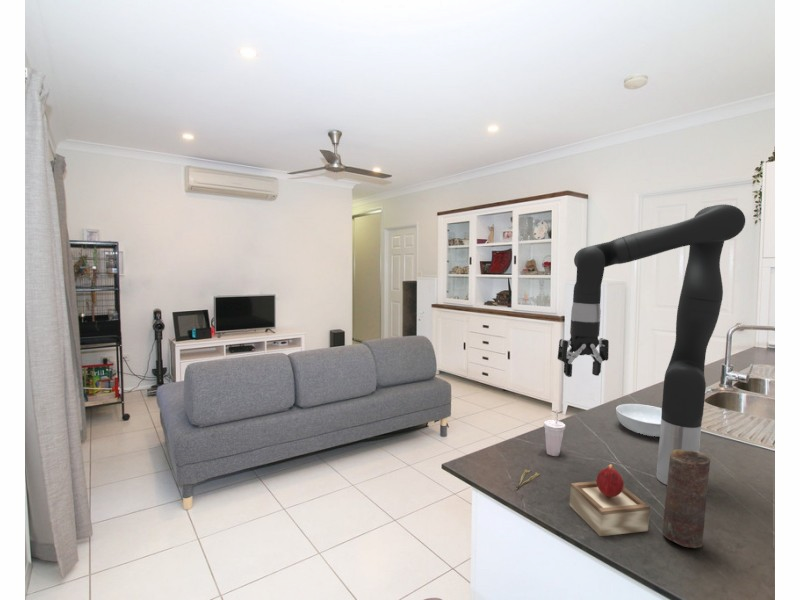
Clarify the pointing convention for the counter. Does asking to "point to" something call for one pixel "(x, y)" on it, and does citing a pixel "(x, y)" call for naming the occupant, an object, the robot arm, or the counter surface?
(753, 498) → the counter surface
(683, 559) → the counter surface
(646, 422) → the serving bowl
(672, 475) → the rusty metal cylinder
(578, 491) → the pedestal
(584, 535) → the counter surface
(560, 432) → the smoothie
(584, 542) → the counter surface
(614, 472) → the pomegranate
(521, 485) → the tongs
